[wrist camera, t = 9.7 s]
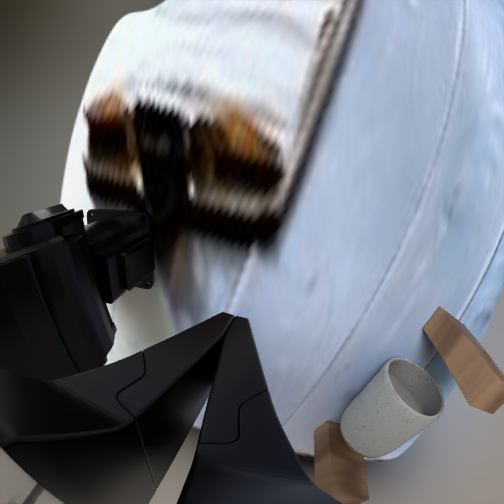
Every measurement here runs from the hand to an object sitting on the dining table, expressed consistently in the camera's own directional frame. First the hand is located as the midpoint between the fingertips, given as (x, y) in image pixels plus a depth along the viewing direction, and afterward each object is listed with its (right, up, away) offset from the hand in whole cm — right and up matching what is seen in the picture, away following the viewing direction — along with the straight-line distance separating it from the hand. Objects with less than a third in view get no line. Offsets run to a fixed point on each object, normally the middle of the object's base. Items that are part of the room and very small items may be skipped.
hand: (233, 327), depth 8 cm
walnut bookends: (+15, -12, +15) cm, 24 cm away
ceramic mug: (+15, -11, +15) cm, 24 cm away
